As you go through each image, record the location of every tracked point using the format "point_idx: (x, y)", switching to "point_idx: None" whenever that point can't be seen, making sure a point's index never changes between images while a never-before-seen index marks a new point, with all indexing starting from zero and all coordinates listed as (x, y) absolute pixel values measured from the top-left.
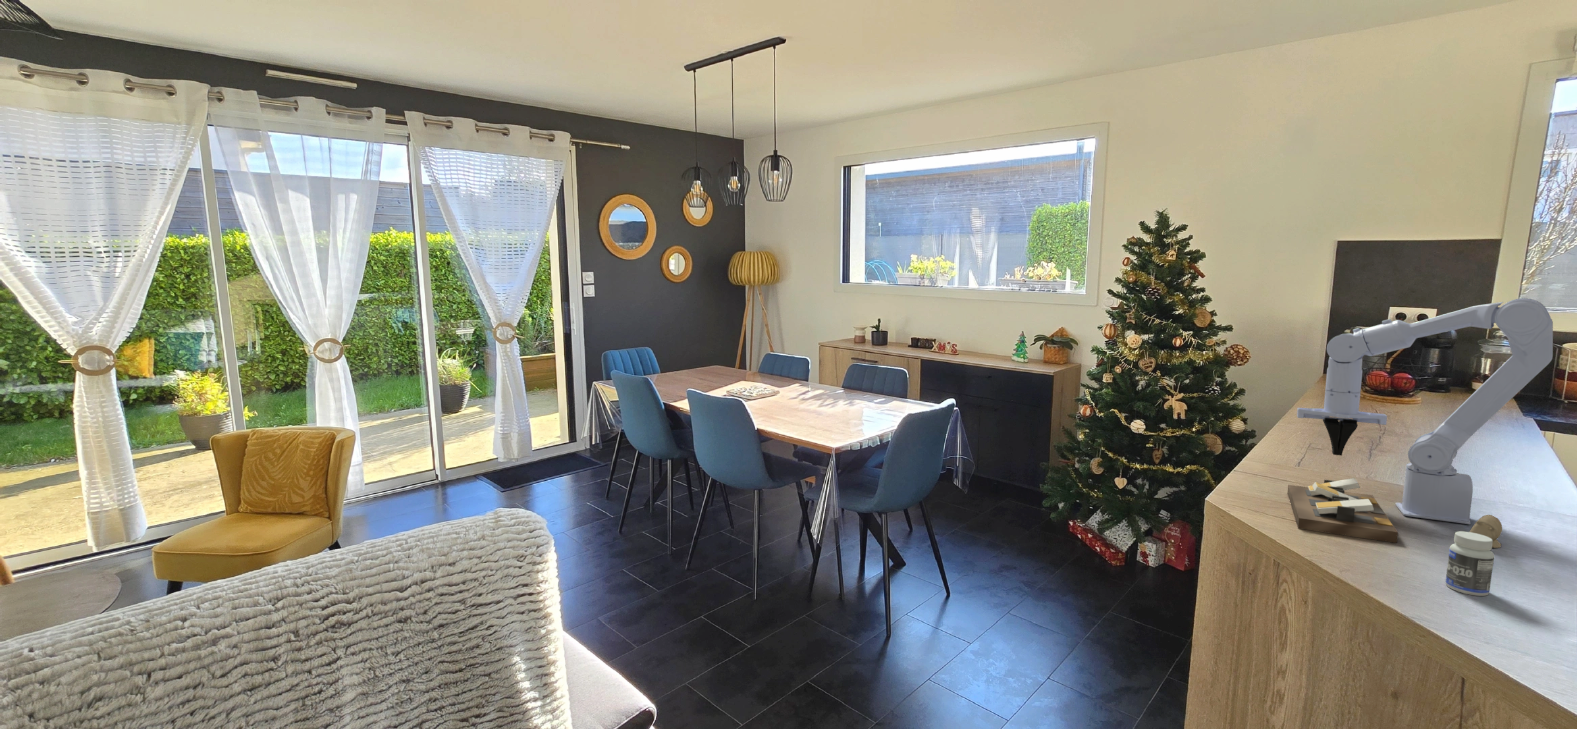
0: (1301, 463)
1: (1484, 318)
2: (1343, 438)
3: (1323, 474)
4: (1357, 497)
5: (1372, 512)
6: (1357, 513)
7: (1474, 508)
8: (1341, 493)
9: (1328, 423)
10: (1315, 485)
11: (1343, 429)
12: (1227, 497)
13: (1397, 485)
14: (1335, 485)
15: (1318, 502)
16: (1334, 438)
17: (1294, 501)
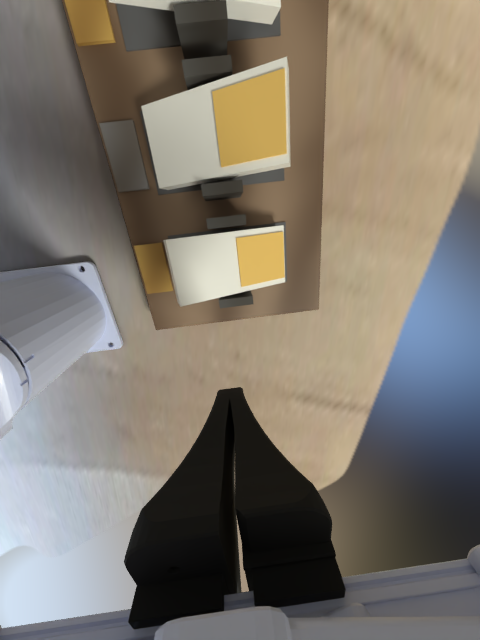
0: None
1: None
2: (213, 441)
3: None
4: None
5: (129, 120)
6: (163, 80)
7: None
8: (208, 161)
9: (314, 514)
10: (288, 111)
11: (215, 487)
12: (449, 172)
13: (142, 468)
14: (226, 247)
15: (272, 5)
16: (250, 434)
17: (322, 118)
